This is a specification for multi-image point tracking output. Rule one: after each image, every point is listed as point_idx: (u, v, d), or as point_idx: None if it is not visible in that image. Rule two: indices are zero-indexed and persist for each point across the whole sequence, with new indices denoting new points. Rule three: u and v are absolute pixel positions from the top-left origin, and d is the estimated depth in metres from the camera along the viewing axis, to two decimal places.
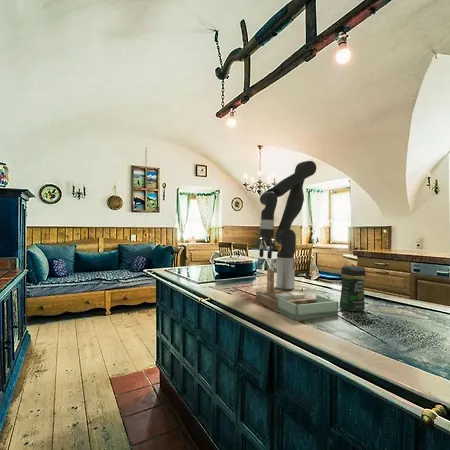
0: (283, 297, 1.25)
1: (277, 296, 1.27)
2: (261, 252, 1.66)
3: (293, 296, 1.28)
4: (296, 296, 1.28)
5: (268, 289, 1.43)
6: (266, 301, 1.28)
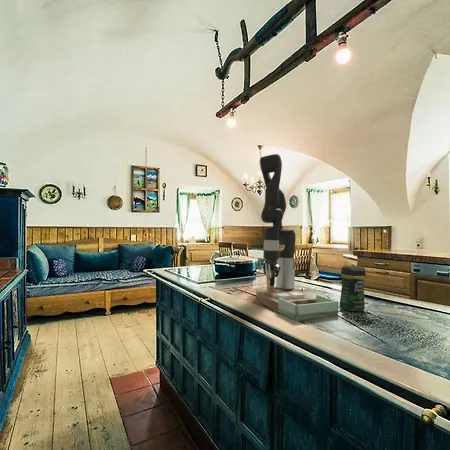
0: (283, 297, 1.25)
1: (277, 296, 1.27)
2: None
3: (293, 296, 1.28)
4: (296, 296, 1.28)
5: (268, 289, 1.43)
6: (266, 301, 1.28)
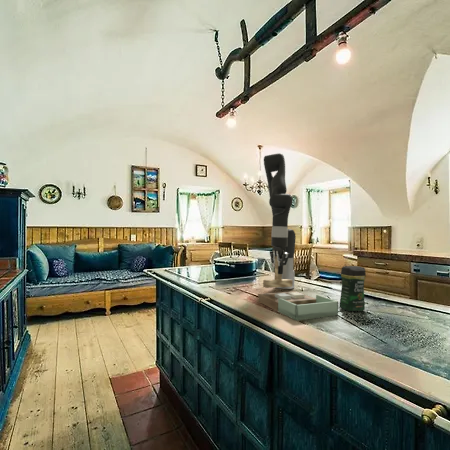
0: (283, 297, 1.25)
1: (277, 296, 1.27)
2: None
3: (293, 296, 1.28)
4: (296, 296, 1.28)
5: (276, 278, 1.36)
6: (266, 301, 1.28)
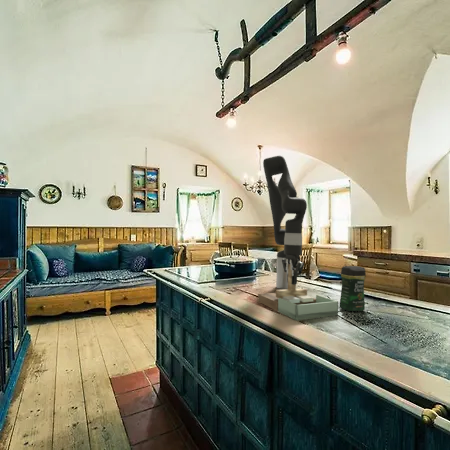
0: (291, 300, 1.20)
1: (285, 299, 1.22)
2: None
3: (301, 299, 1.23)
4: (305, 299, 1.22)
5: (289, 287, 1.27)
6: (266, 301, 1.28)
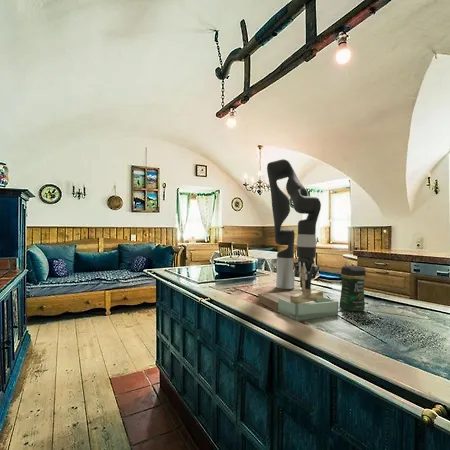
0: None
1: None
2: None
3: None
4: None
5: (304, 291, 1.19)
6: (266, 301, 1.28)
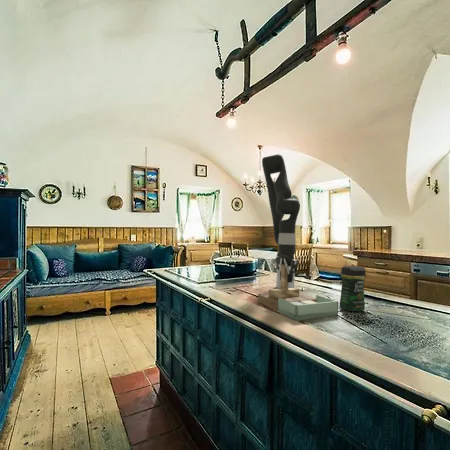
0: None
1: None
2: None
3: None
4: None
5: (282, 287, 1.31)
6: (266, 301, 1.28)
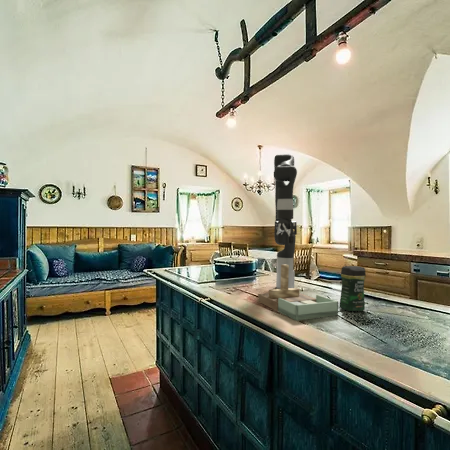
0: None
1: None
2: (280, 237, 1.42)
3: None
4: None
5: (282, 287, 1.31)
6: (266, 301, 1.28)
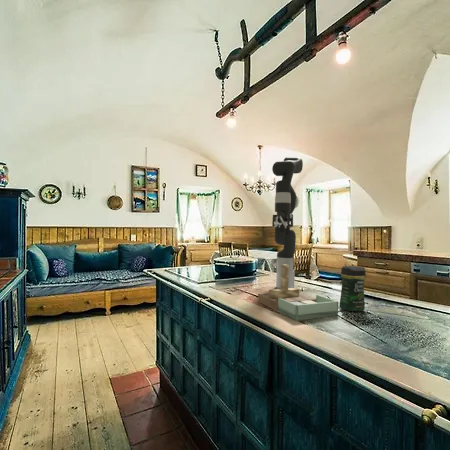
0: None
1: None
2: (277, 230, 1.47)
3: None
4: None
5: (282, 287, 1.31)
6: (266, 301, 1.28)
